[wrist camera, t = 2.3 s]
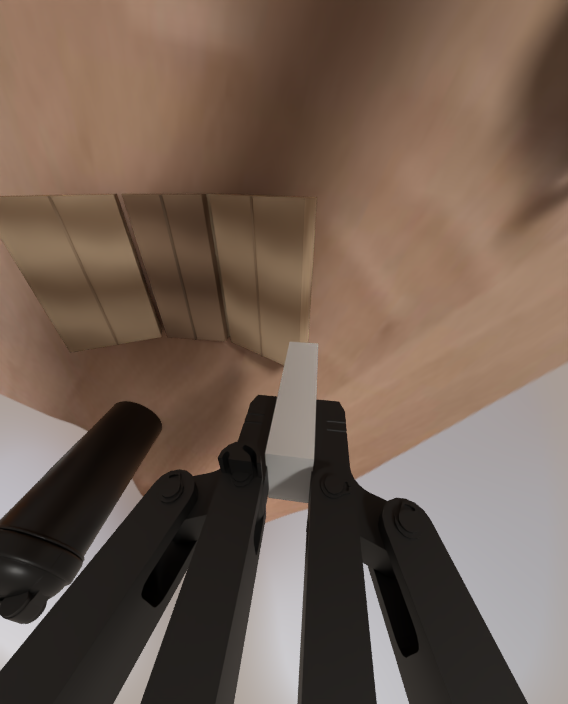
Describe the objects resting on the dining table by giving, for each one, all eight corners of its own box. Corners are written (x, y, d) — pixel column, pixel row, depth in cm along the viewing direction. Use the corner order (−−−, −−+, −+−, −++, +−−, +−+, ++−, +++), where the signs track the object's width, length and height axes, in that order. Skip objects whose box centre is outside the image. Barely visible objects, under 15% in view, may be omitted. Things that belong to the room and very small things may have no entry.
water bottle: (98, 392, 39) (-110, 588, 20) (160, 403, 38) (3, 615, 20) (118, 432, 45) (-31, 613, 26) (172, 442, 44) (59, 634, 26)
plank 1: (-13, 196, 19) (-25, 197, 18) (116, 193, 22) (113, 194, 21) (74, 345, 27) (70, 352, 26) (162, 331, 30) (161, 337, 29)
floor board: (125, 193, 22) (112, 194, 21) (217, 193, 21) (210, 194, 20) (168, 330, 30) (160, 337, 29) (236, 334, 29) (232, 342, 28)
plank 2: (223, 194, 21) (208, 194, 20) (316, 196, 16) (304, 198, 15) (240, 336, 29) (231, 342, 28) (306, 364, 24) (298, 372, 23)
